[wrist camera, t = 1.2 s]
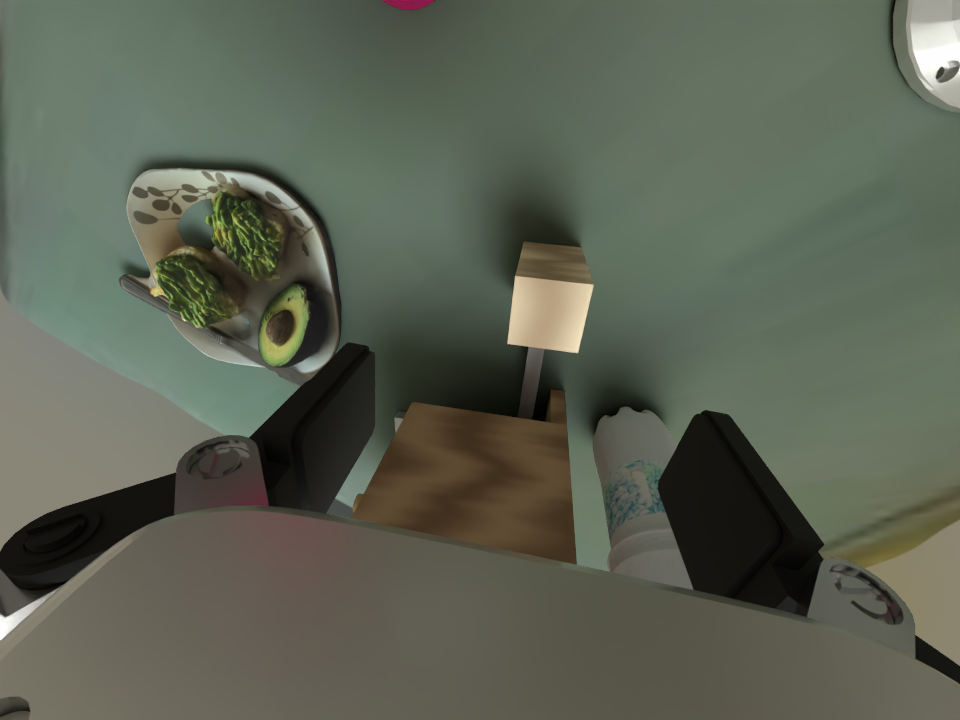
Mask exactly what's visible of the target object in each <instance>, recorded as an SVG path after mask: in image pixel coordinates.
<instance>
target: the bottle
mask: <svg viewBox="0 0 960 720" xmlns="http://www.w3.org/2000/svg"><path fill="white" fill-rule="evenodd" d="M676 448H677V447H676V444H675V441H674V439H673V436H672V435H671V433H670V431H669V429H668V428H667V427H666V426H665V424H664V423H663V422H662V421H661V420H660V418H659V417H658V416H657V415H655V414H654V413H653V412H651V411H649V410H643V411H642V412H641V413H640V412H636V411H634V410H632V409H631V408H630V407H621V408H620V409H619V412H618V413H617V414H616V415H615V416H613V417H610V416H608V415H605V416H603V417H602V418H601V419H600V420H599V422H598V425H597V429H596V433H595V435H594V438H593V453H594V458H595V463H596V466H597V470H598V474H599V478H600V482H601V486H602V494H603V500H604V506H605V513H606V519H607V526H608V532H609V538H610V545H611V551H610V553H609V556H608V568H609V571H610V572H613V573H617V574H622V575H626V576H631V577H636V578H640V579H645V580H649V581H654V582H659V583H663V584H668V585H672V586H677V587H682V588H686V589H691V590H693V587H692V584H691V581H690V578H689V576H688V573H687V570H686V567H685V565H684V562H683V559H682V556H681V553H680V551H679V548H678V545H677V542H676V540H675V537H674V534H673V531H672V528H671V526H670V523H669V520H668V517H667V514H666V512H665V509H664V506H663V503H662V501H661V498H660V495H659V492H658V482H659V479H660V477H661V475H662V473H663V472H664V470H665V468H666V466H667V464H668V462H669V461H670V459H671V457H672V455H673V453H674V451H675V450H676Z"/></svg>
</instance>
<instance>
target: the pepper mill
mask: <svg viewBox="0 0 960 720" xmlns="http://www.w3.org/2000/svg"><path fill="white" fill-rule="evenodd" d="M382 1H384V2H385V3H387V4H388V5H391V6H393V7H395V8H399V9H403V10H414V9H419V8H422V7H425V6H426V5H428V4H430V3H432V2H433V1H435V0H382Z"/></svg>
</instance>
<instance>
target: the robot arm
mask: <svg viewBox="0 0 960 720" xmlns="http://www.w3.org/2000/svg"><path fill="white" fill-rule="evenodd" d="M893 45H894V49H895V53H896V58H897V62H898V66H899V69H900V70H901V72H902V74H903V76H904V77H905V79H906V81H907V83H908V84H909V86H910V87H911V88H912V89H913V90H914V91H915V92H916V93H917V94H918V95H919V96H921V97H922V98H923V99H924V100H925V101H926V102H929V103H931V104H933V105H935V106H937V107H939V108H941V109H944V110H946V111H952V112H957V113H960V0H896V2H895V8H894V13H893ZM374 426H375V354H374V352H371V351H369V347H368V346H365V345H360V344H355V343H347V344H345V345H344V346H343V347H342V348H341V349H340V350H339V351H338V352H337V353H336V354H335V355H334V356H333V357H332V358H331V359H330V360H329V361H328V362H327V363H326V364H325V365H324V366H323V367H322V368H321V369H320V370H319V371H318V372H317V373H316V375H315V376H314V377H313V378H312V379H311V380H308V381H306V382H305V383H304V384H303V385H302V386H301V387H300V388H299V389H298V390H297V391H296V392H295V393H294V394H293V395H292V396H291V397H290V398H289V399H288V400H287V401H286V402H285V403H284V404H283V405H282V406H281V407H280V408H279V409H278V410H277V411H276V412H275V413H274V414H273V415H272V416H271V417H270V418H269V419H268V420H267V421H266V422H265V423H264V424H262V425H261V426H260V427H259V428H258V429H257V430H256V431H255V432H254V433H253V434H252V435H251V436H250V437H249V438H247V437H244V436H240V435H227V436H221V437H216V438H213V439H209V440H206V441H204V442H202V443H200V444H198V445H196V446H194V447H193V448H191V449H190V450H189V451H188V452H186V453H185V454H184V455H183V457H182V458H181V459H180V460H179V462H178V465H177V468H176V473H173V474H170V475H167V476H163V477H160V478H157V479H153V480H150V481H147V482H144V483H140V484H137V485H134V486H131V487H128V488H124V489H121V490H117V491H114V492H111V493H108V494H104V495H102V496H98V497H95V498H91V499H88V500H85V501H82V502H79V503H75V504H72V505H69V506H65V507H62V508H60V509H57V510H54V511H52V512H49V513H47V514H45V515H43V516H41V517H39V518H37V519H35V520H34V521H32V522H30V523H29V524H27V525H26V526H24V527H23V528H22V529H20V530H19V531H18V532H16V533H15V534H14V535H13V536H12V537H11V538H10V539H9V540H8V541H7V542H6V543H5V544H4V546H3V548H2V550H1V551H0V720H960V666H959V665H957V664H956V663H955V662H953V661H952V660H950V659H949V658H948V657H946V656H945V655H943V654H942V653H940V652H939V651H938V650H936V649H935V648H933V647H932V646H930V645H929V644H928V643H926V642H925V641H923V640H922V639H920V638H919V637H918V636H916V635H915V623H914V619H913V615H912V613H911V612H910V610H909V609H908V607H907V605H906V604H905V602H904V601H903V600H902V599H901V598H900V597H899V596H898V595H897V593H896V592H895V591H894V590H893V589H891V588H890V587H889V586H888V585H887V584H886V583H885V582H883V581H882V580H881V579H880V578H878V577H877V576H875V575H874V574H872V573H871V572H870V571H868V570H866V569H865V568H863V567H861V566H859V565H857V564H855V563H853V562H850V561H847V560H845V559H842V558H835V557H830V558H826V559H823V558H822V557H821V555H820V554H819V552H818V551H819V550H820V549H821V548H822V547H823V546H824V543H823V542H822V541H821V539H820V538H819V536H818V535H817V534H816V532H815V531H814V530H813V528H812V527H811V526H810V524H809V523H808V521H807V520H806V519H805V517H804V516H803V515H802V513H801V512H800V511H799V509H798V508H797V506H796V505H795V504H794V502H793V501H792V500H791V498H790V497H789V496H788V494H787V493H786V491H785V490H784V489H783V487H782V486H781V485H780V483H779V482H778V481H777V479H776V478H775V477H774V475H773V474H772V472H771V471H770V470H769V468H768V467H767V466H766V464H765V463H764V462H763V460H762V459H761V457H760V456H759V455H758V453H757V452H756V451H755V449H754V448H753V447H752V445H751V444H750V442H749V441H748V440H747V438H746V437H745V436H744V434H743V433H742V432H741V430H740V429H739V427H738V426H737V425H736V423H735V422H734V421H733V419H732V418H731V417H730V416H729V415H727V414H723V413H718V412H713V411H708V410H705V411H703V412H701V414H696V415H695V416H694V417H693V418H692V420H691V422H690V424H689V426H688V428H687V429H686V431H685V433H684V435H683V437H682V439H681V440H680V442H679V444H678V446H677V448H676V450H675V451H674V453H673V455H672V457H671V459H670V461H669V462H668V464H667V466H666V468H665V470H664V472H663V473H662V475H661V477H660V479H659V482H658V492H659V495H660V498H661V501H662V503H663V506H664V509H665V512H666V514H667V517H668V520H669V523H670V526H671V528H672V531H673V534H674V537H675V540H676V542H677V545H678V548H679V551H680V553H681V556H682V559H683V562H684V565H685V567H686V570H687V573H688V576H689V578H690V581H691V584H692V587H693V590H691V589H686V588H682V587H677V586H672V585H668V584H663V583H659V582H654V581H649V580H645V579H640V578H636V577H631V576H626V575H622V574H617V573H613V572H608V571H603V570H599V569H594V568H589V567H585V566H580V565H575V564H570V563H566V562H561V561H556V560H552V559H547V558H542V557H537V556H533V555H528V554H523V553H519V552H514V551H509V550H504V549H500V548H495V547H490V546H485V545H481V544H476V543H471V542H466V541H461V540H456V539H451V538H447V537H442V536H437V535H432V534H427V533H422V532H417V531H413V530H408V529H403V528H398V527H393V526H388V525H383V524H378V523H373V522H368V521H362V520H357V519H352V518H346V517H341V516H335V515H330V514H326V512H327V511H328V509H329V507H330V505H331V504H332V502H333V500H334V499H335V497H336V495H337V493H338V492H339V490H340V488H341V487H342V485H343V483H344V481H345V480H346V478H347V476H348V475H349V473H350V471H351V469H352V468H353V466H354V464H355V463H356V461H357V459H358V457H359V456H360V454H361V452H362V451H363V449H364V447H365V445H366V444H367V442H368V440H369V439H370V437H371V435H372V433H373V430H374Z"/></svg>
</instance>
